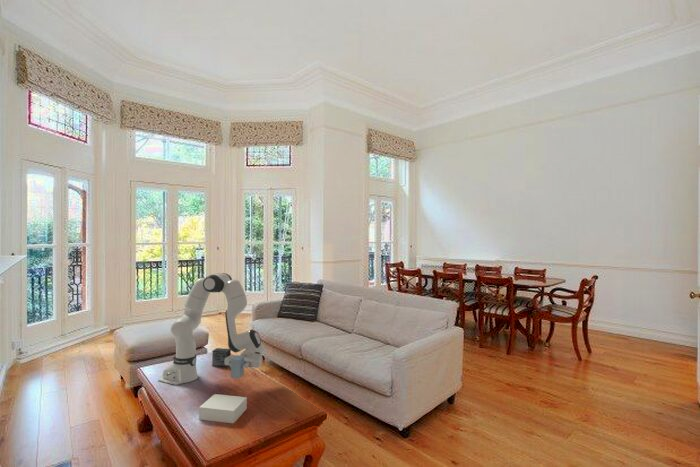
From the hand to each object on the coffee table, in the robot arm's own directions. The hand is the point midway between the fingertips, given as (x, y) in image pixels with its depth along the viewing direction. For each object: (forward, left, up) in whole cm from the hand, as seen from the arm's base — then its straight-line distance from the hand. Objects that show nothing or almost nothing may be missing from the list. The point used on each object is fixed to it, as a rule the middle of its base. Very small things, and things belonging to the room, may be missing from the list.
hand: (236, 366), depth 189 cm
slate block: (0, +1, -5) cm, 6 cm away
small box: (-34, +46, -19) cm, 60 cm away
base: (0, -13, -19) cm, 23 cm away
